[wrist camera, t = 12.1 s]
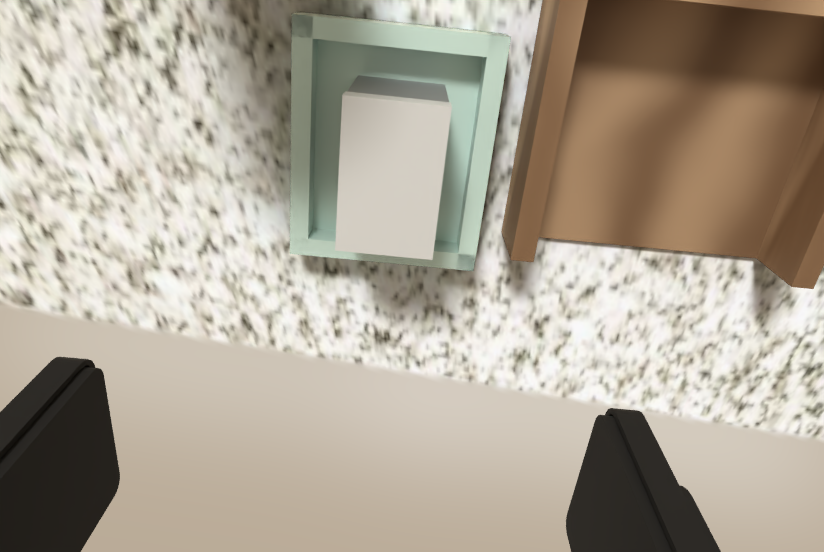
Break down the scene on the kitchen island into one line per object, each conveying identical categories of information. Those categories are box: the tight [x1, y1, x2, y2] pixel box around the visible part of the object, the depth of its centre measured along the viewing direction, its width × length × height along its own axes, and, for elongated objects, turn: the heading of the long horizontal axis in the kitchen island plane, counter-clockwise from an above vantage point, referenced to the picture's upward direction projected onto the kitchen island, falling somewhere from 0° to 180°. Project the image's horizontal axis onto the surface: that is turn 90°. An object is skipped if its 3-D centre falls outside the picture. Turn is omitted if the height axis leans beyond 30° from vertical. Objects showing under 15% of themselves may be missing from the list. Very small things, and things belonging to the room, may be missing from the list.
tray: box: [290, 12, 511, 271], centre depth 32 cm, size 10×12×2 cm
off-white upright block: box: [335, 75, 452, 260], centre depth 29 cm, size 5×7×6 cm, turn 174°
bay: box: [502, 0, 824, 289], centre depth 30 cm, size 16×14×4 cm
